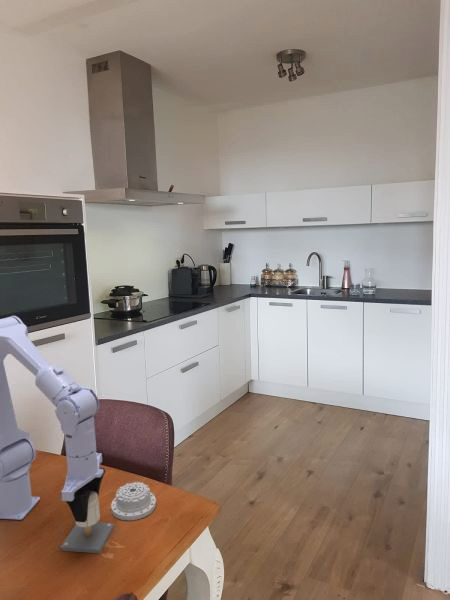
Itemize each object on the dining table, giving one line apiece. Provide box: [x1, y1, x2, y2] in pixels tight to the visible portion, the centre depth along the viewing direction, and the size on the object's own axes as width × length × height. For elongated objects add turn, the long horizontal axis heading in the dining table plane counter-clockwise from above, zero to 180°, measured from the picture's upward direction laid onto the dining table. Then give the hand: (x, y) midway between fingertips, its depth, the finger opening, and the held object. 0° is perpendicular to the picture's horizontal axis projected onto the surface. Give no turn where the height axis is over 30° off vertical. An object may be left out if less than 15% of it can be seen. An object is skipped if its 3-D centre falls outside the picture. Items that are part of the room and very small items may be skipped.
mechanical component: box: [110, 481, 157, 521], centre depth 105 cm, size 10×4×10 cm
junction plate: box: [60, 521, 115, 554], centre depth 95 cm, size 8×8×4 cm
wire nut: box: [74, 491, 101, 527], centre depth 94 cm, size 5×5×5 cm
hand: (86, 512), depth 94 cm, fingers closed on wire nut, 5 cm apart
